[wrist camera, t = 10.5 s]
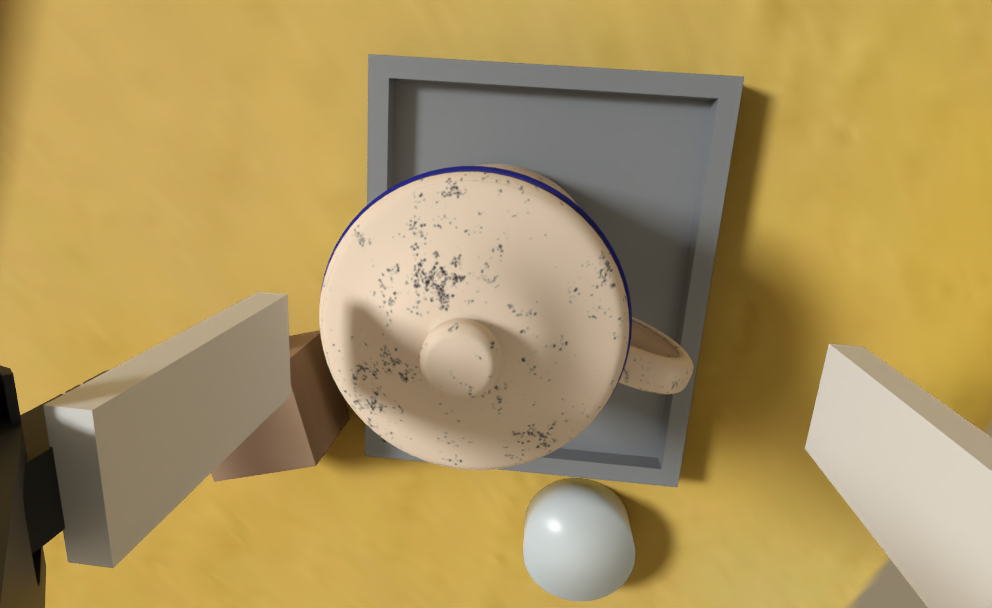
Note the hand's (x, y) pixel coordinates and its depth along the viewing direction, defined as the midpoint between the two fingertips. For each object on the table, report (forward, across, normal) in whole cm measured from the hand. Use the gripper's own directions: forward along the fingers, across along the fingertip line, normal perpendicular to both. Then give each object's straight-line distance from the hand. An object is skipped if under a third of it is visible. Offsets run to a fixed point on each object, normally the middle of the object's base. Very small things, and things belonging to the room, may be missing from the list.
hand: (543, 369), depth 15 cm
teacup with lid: (+11, -1, 0) cm, 11 cm away
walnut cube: (+12, -12, -6) cm, 18 cm away
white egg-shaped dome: (+12, +2, -12) cm, 17 cm away
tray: (+12, -1, 0) cm, 12 cm away
